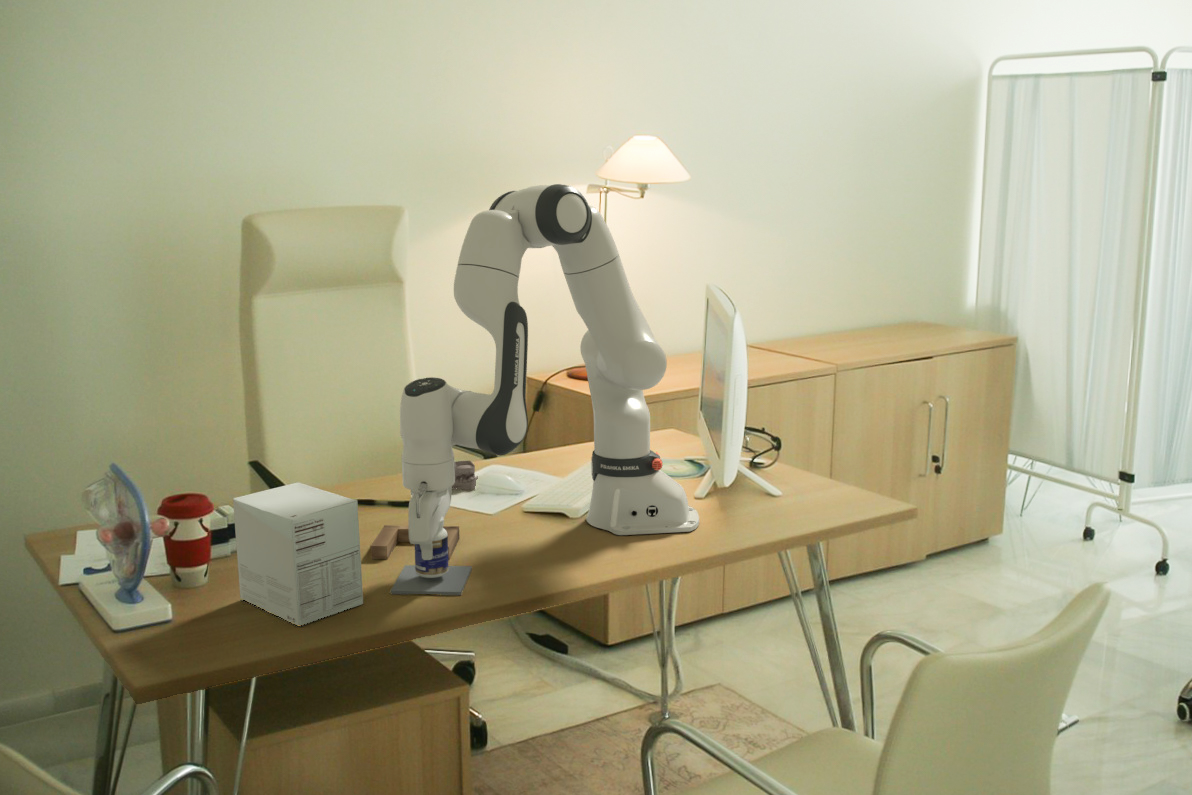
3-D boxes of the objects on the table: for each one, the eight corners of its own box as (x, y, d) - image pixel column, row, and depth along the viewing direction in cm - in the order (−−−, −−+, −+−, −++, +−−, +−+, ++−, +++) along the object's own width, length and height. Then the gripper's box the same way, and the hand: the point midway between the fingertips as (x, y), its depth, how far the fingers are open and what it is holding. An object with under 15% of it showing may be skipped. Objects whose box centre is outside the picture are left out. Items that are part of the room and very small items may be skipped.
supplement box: (366, 604, 196) (361, 499, 192) (298, 629, 186) (291, 519, 182) (305, 578, 207) (299, 479, 203) (237, 601, 198) (229, 497, 194)
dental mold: (445, 481, 264) (445, 460, 263) (476, 480, 265) (476, 458, 264) (448, 492, 256) (447, 470, 255) (480, 490, 257) (479, 468, 256)
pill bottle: (432, 581, 202) (430, 526, 199) (408, 574, 205) (406, 519, 203) (455, 571, 206) (453, 516, 204) (432, 564, 209) (429, 510, 207)
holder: (459, 538, 227) (459, 526, 226) (449, 559, 216) (448, 546, 215) (385, 537, 228) (384, 525, 227) (371, 558, 217) (370, 545, 216)
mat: (471, 569, 211) (471, 566, 211) (461, 595, 200) (460, 591, 199) (405, 568, 212) (405, 565, 212) (390, 594, 200) (390, 590, 200)
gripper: (435, 493, 191) (439, 573, 194) (456, 458, 211) (459, 531, 214) (397, 492, 191) (401, 573, 195) (421, 457, 211) (424, 531, 214)
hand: (431, 551), depth 205 cm, fingers closed on pill bottle, 6 cm apart
